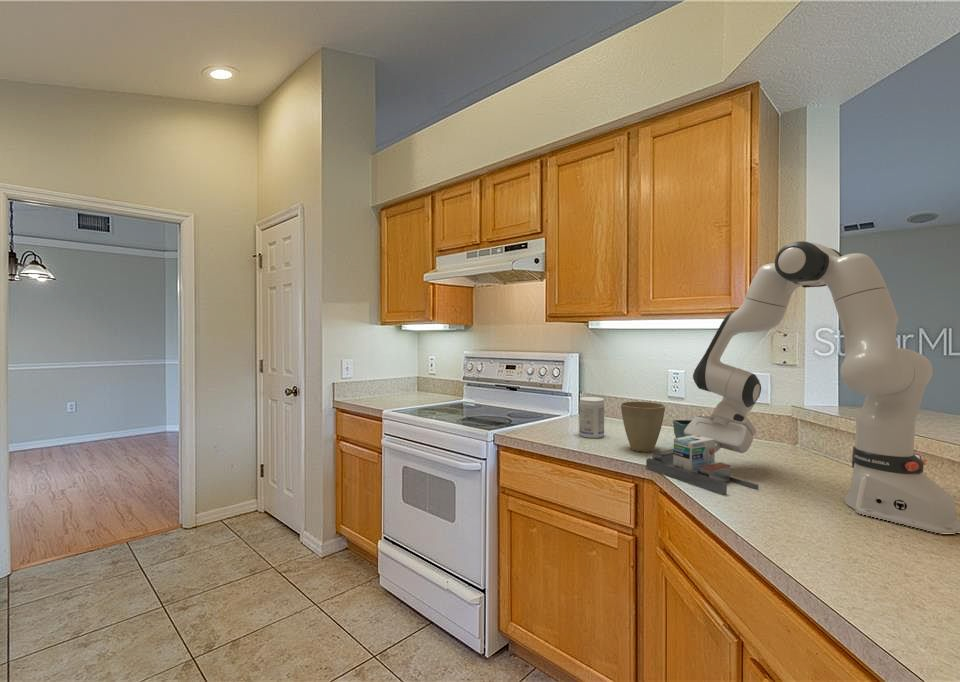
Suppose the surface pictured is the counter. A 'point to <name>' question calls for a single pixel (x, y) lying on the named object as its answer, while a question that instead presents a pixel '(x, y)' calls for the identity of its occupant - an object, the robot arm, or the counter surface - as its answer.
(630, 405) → the plant pot
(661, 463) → the vise base
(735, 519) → the counter surface
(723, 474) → the block
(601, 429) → the supplement tub
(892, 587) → the counter surface
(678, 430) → the flower pot
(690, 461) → the light bulb box
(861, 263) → the robot arm
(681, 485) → the counter surface
